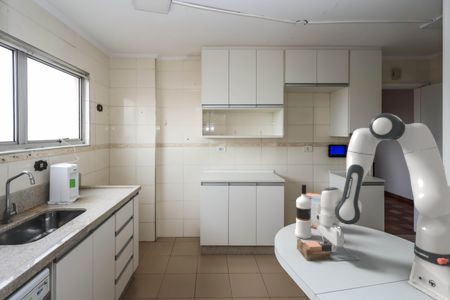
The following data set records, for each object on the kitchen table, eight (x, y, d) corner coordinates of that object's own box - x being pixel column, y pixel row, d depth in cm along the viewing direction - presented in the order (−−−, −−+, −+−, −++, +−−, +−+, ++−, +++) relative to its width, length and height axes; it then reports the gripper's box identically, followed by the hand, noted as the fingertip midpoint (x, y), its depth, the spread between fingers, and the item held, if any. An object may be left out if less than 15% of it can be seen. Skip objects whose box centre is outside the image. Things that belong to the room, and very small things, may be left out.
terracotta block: (335, 255, 122) (335, 245, 122) (309, 257, 121) (309, 247, 121) (329, 250, 128) (329, 240, 128) (304, 251, 127) (304, 241, 126)
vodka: (293, 232, 150) (294, 182, 149) (310, 233, 149) (310, 183, 147) (296, 239, 141) (296, 186, 139) (313, 240, 140) (314, 186, 138)
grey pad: (359, 259, 118) (359, 259, 118) (334, 261, 117) (334, 260, 117) (340, 244, 134) (340, 244, 134) (318, 245, 133) (318, 245, 133)
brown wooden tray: (330, 259, 119) (330, 248, 118) (306, 260, 118) (306, 250, 117) (318, 247, 131) (318, 238, 130) (297, 248, 129) (297, 239, 129)
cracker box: (330, 229, 156) (331, 195, 154) (326, 231, 151) (326, 197, 150) (309, 223, 166) (309, 192, 164) (304, 225, 161) (304, 193, 160)
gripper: (348, 227, 114) (347, 257, 115) (325, 213, 134) (325, 239, 135) (334, 228, 113) (334, 258, 114) (314, 214, 133) (314, 239, 134)
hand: (329, 247), depth 125 cm, fingers open, 6 cm apart
